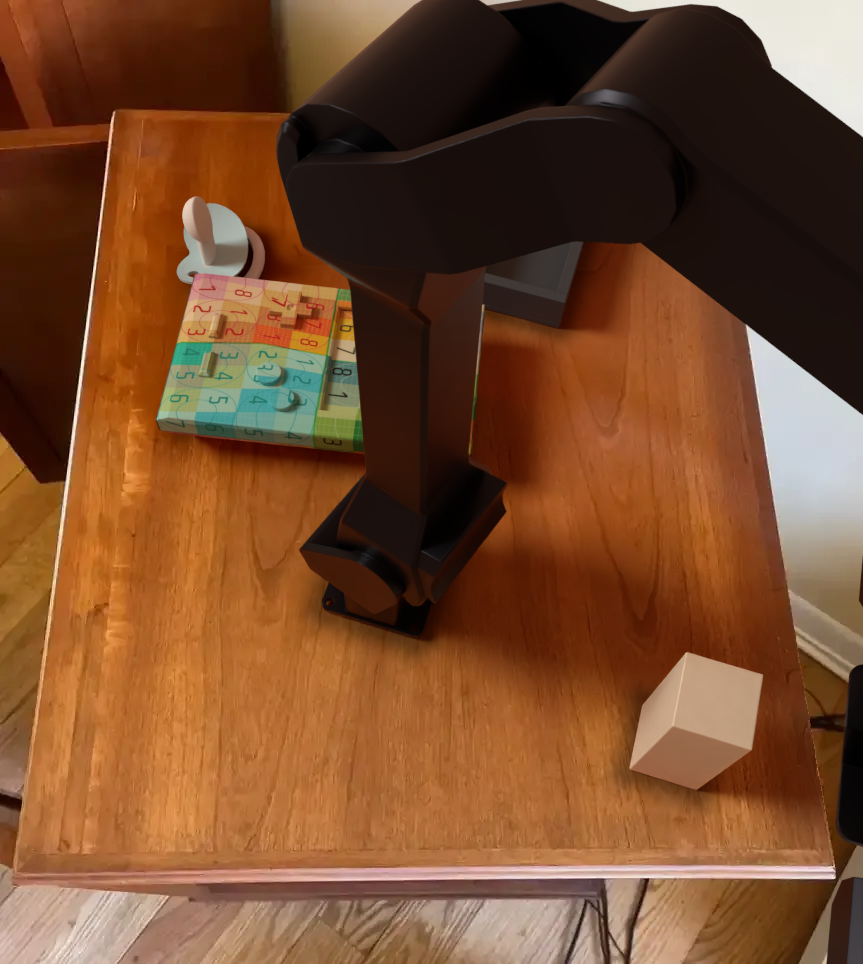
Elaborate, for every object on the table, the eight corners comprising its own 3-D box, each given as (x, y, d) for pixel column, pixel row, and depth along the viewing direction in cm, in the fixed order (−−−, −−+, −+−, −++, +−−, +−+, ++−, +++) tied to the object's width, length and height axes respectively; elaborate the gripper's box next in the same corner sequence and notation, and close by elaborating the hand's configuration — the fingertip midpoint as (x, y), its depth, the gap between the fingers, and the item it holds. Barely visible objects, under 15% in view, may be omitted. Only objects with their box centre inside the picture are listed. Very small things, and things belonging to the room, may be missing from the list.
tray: (558, 328, 73) (565, 302, 70) (457, 301, 74) (460, 275, 71) (599, 194, 79) (606, 165, 77) (505, 170, 80) (509, 141, 77)
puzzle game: (192, 265, 69) (486, 296, 68) (203, 308, 73) (480, 337, 72) (152, 412, 63) (472, 446, 63) (167, 449, 67) (467, 481, 67)
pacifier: (270, 229, 77) (189, 223, 76) (264, 167, 71) (177, 162, 71) (260, 307, 73) (176, 302, 73) (253, 249, 68) (162, 243, 67)
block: (696, 790, 58) (752, 750, 49) (628, 769, 59) (672, 725, 50) (708, 724, 60) (764, 674, 51) (642, 704, 61) (686, 651, 52)
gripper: (1346, 1114, 28) (1027, 1082, 41) (1273, 522, 36) (1029, 658, 50) (933, 989, 29) (756, 998, 43) (957, 442, 37) (803, 597, 51)
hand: (849, 799), depth 46 cm, fingers closed
